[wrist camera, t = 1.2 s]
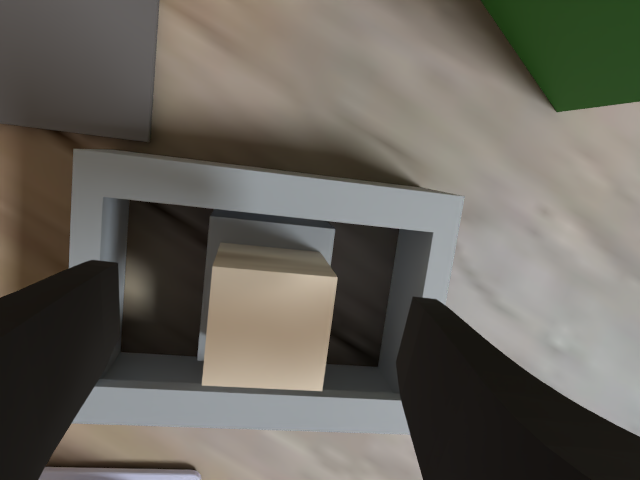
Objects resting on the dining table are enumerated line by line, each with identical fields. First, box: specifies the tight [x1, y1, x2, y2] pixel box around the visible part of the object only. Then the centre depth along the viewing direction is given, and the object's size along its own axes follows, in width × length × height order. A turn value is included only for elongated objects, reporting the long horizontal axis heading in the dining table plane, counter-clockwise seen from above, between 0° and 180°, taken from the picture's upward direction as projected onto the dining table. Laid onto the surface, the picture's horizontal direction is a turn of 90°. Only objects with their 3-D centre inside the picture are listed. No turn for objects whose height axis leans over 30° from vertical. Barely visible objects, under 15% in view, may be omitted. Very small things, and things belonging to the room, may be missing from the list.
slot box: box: [69, 149, 465, 435], centre depth 20 cm, size 10×14×5 cm
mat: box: [0, 0, 159, 142], centre depth 19 cm, size 9×9×1 cm
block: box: [202, 243, 338, 391], centre depth 17 cm, size 4×4×4 cm
